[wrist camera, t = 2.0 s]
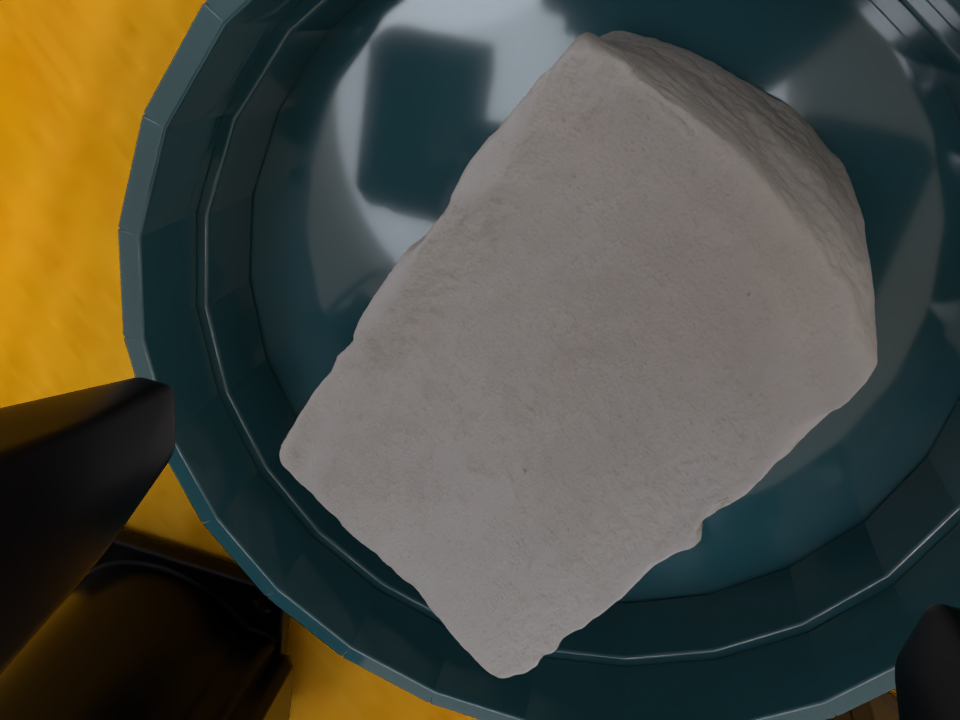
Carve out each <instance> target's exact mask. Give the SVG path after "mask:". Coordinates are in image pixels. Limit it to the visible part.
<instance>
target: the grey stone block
mask: <svg viewBox="0 0 960 720" xmlns="http://www.w3.org/2000/svg"><path fill="white" fill-rule="evenodd" d="M353 337H354V340H353V342H352V343H351V344H350V345H349V346H348V347H347V348H346V349H345V350H344V351H342V352H341V353H340V354H339V355H338V356H337V359H336V362H335V364H334V366H333V369H332V371H331V372H330V374H328V376H327V377H326V378H325V379H324V380H323V381H322V382H321V384H320V385H319V386H318V388H317V389H316V390H315V391H314V393H313V394H312V395H311V397H310V399H309V401H308V402H307V404H306V406H305V407H304V409H303V410H302V411H301V413H300V414H299V416H298V418H297V420H296V422H295V423H294V425H293V427H292V428H291V430H290V431H289V433H288V434H287V437H286V439H285V440H284V441H283V443H282V445H281V449H280V453H279V456H280V461H281V463H282V465H283V466H284V467H285V468H286V469H287V470H288V471H289V472H290V473H291V474H292V475H293V476H294V478H295V479H296V480H297V481H298V482H299V483H300V484H301V485H303V486H304V487H305V488H306V489H307V490H309V491H310V492H311V493H312V494H313V495H314V496H315V498H316V499H317V500H318V501H319V502H320V503H321V504H322V505H323V506H324V507H325V508H326V509H327V510H328V511H329V512H330V513H332V514H333V515H334V516H335V517H337V519H338V520H339V521H340V522H341V524H342V526H343V527H344V528H345V529H346V530H347V531H348V532H349V533H350V534H351V535H353V537H355V538H356V539H357V540H359V541H360V542H361V543H362V544H364V545H365V546H366V547H368V548H369V549H370V550H372V551H373V552H375V553H376V554H377V555H378V556H379V557H380V558H381V559H382V561H383V562H385V563H386V564H387V565H388V566H390V567H391V568H392V569H393V570H394V571H395V572H396V573H397V574H398V575H399V576H400V577H401V578H402V579H403V580H405V581H406V582H408V583H410V584H411V585H413V586H414V587H415V588H416V589H417V590H418V592H419V593H420V594H421V596H422V597H423V599H424V600H425V601H426V603H427V605H428V606H429V608H430V609H431V610H432V611H433V613H434V614H435V615H436V616H437V617H438V618H440V620H441V621H442V622H443V623H444V625H445V626H446V628H447V629H448V630H449V632H450V633H451V634H452V635H453V636H454V638H455V639H456V640H457V641H458V642H459V643H460V645H461V646H462V647H463V648H464V649H465V650H467V651H468V652H469V653H470V654H471V655H472V657H473V658H474V659H475V660H476V661H477V662H478V663H479V664H480V665H481V666H482V667H483V668H484V669H485V670H486V671H487V672H489V673H490V674H492V675H494V676H496V677H498V678H508V677H511V676H513V675H518V674H524V673H526V672H528V671H529V670H531V669H532V668H534V667H536V666H537V665H538V662H539V660H540V659H541V658H542V657H543V656H544V655H546V654H550V653H553V652H554V651H555V650H556V649H557V648H558V646H559V644H560V642H561V641H562V639H563V638H564V637H566V636H567V635H569V634H570V633H572V632H574V631H576V630H579V629H582V628H584V627H585V626H586V625H587V624H588V623H589V622H590V621H591V620H593V619H594V618H596V617H598V616H600V615H601V614H602V613H604V612H605V611H606V610H607V609H608V608H609V607H611V606H612V605H613V604H614V603H615V602H616V601H618V600H620V599H621V598H622V597H623V596H625V595H626V593H627V592H628V591H629V590H630V589H631V588H632V587H633V586H634V585H635V584H636V583H637V582H638V581H639V580H640V579H641V578H642V577H643V576H644V575H645V574H646V573H647V572H648V571H649V570H650V569H651V568H652V567H653V566H655V565H656V564H658V563H659V562H661V561H663V560H665V559H667V558H668V557H670V556H672V555H673V554H675V553H678V552H680V551H684V550H688V549H691V548H693V547H694V546H695V545H696V544H697V543H698V542H699V541H700V540H701V536H702V526H703V523H702V521H703V520H704V519H705V518H707V517H709V516H711V515H712V514H713V513H715V512H716V511H717V510H719V509H721V508H723V507H725V506H728V505H730V504H731V503H733V502H735V501H736V500H738V499H740V498H741V497H742V496H744V495H746V494H747V493H748V492H749V491H750V490H751V489H752V488H753V487H754V486H755V485H756V484H757V483H758V482H759V481H760V480H761V479H762V478H763V477H764V476H765V475H766V474H767V473H768V471H769V470H770V469H771V468H772V467H773V465H774V464H775V463H776V462H777V461H779V460H781V459H782V458H783V457H785V456H786V455H787V454H788V453H789V452H790V451H791V450H792V449H793V448H794V447H795V446H796V444H797V443H798V442H799V441H800V440H801V439H803V438H804V437H805V435H806V434H807V433H808V432H809V431H810V430H811V429H812V428H814V427H815V426H816V425H817V424H818V423H819V422H820V421H821V420H822V419H823V418H825V417H826V416H827V415H828V414H829V413H830V412H832V411H834V410H836V409H839V408H841V407H842V406H843V405H844V404H846V403H847V402H848V401H849V400H850V399H851V398H852V397H853V396H854V395H855V394H856V393H857V391H858V390H859V389H860V388H861V387H862V386H863V385H864V384H865V383H866V382H867V381H868V378H869V377H870V376H871V374H872V372H873V371H874V369H875V367H876V365H877V361H878V359H877V336H876V325H875V296H874V288H873V282H872V272H871V265H870V258H869V254H868V249H867V243H866V235H865V222H864V218H863V215H862V212H861V209H860V206H859V204H858V201H857V198H856V195H855V192H854V188H853V186H852V183H851V181H850V177H849V176H848V174H847V172H846V168H845V167H844V165H843V163H842V162H841V160H840V159H839V158H838V157H837V156H836V155H835V154H833V153H832V152H831V151H830V150H829V149H828V148H827V147H826V145H825V144H824V142H823V141H822V140H821V139H820V137H819V136H818V135H817V134H816V132H815V131H814V129H813V128H812V127H811V126H810V125H809V124H808V123H807V122H806V121H805V120H804V119H803V118H802V117H801V116H800V114H798V113H797V112H796V111H795V110H794V109H792V108H791V107H789V106H788V105H787V104H785V103H783V102H781V101H779V100H777V99H775V98H773V97H771V96H769V95H767V94H766V93H764V92H763V91H761V90H760V89H758V88H756V87H755V86H753V85H751V84H750V83H748V82H746V81H744V80H742V79H739V78H738V77H736V76H735V75H733V74H732V73H730V72H728V71H726V70H724V69H723V68H722V67H720V66H718V65H717V64H715V63H714V62H712V61H709V60H707V59H704V58H703V57H701V56H699V55H697V54H694V53H693V52H691V51H688V50H686V49H683V48H680V47H677V46H674V45H672V44H670V43H665V42H661V41H659V40H658V39H656V38H650V37H643V36H641V35H637V34H633V33H631V32H626V31H611V32H609V33H607V34H604V35H602V36H600V37H598V36H597V35H596V34H594V33H590V32H585V33H584V34H582V35H580V36H578V37H577V38H575V39H574V41H573V44H572V45H571V46H570V47H569V49H568V50H567V51H565V52H564V53H563V55H562V56H561V58H559V59H558V60H557V62H556V63H555V65H554V66H553V67H552V68H551V69H549V70H548V71H547V72H545V73H544V74H543V75H542V76H541V77H540V78H539V79H538V80H537V81H536V82H535V84H534V86H533V87H532V88H531V89H530V91H529V92H528V94H527V95H526V96H525V98H524V99H523V100H521V101H520V102H519V103H518V105H517V106H516V107H515V109H514V110H513V111H512V112H511V114H510V115H509V116H508V117H507V118H506V119H505V121H504V122H503V123H502V124H501V125H500V127H499V129H498V130H497V131H496V132H495V133H493V134H492V135H491V136H490V137H489V138H488V139H487V140H486V141H485V143H484V144H483V145H482V146H481V148H480V149H479V150H478V152H477V153H476V154H475V155H474V157H473V158H472V159H471V160H470V162H469V164H468V165H467V167H466V168H465V170H464V172H463V173H462V175H461V177H460V179H459V182H458V184H457V185H456V187H455V190H454V191H453V193H452V195H451V199H450V202H449V205H448V207H447V208H446V209H445V212H444V213H443V214H442V215H441V216H440V218H439V219H438V220H437V221H435V222H434V223H433V225H432V227H431V229H430V231H429V232H428V234H427V235H425V236H424V237H422V238H421V239H420V240H419V241H417V242H416V243H414V244H413V245H412V246H411V247H410V248H408V249H407V250H406V252H405V253H404V254H403V256H402V257H401V258H400V259H399V260H398V262H397V263H396V265H395V266H394V267H393V269H392V271H391V272H390V273H389V274H388V276H387V278H386V279H385V281H384V282H383V284H382V285H381V286H380V288H379V289H378V291H377V292H376V294H375V295H374V296H373V298H372V300H371V302H370V304H369V305H368V307H367V308H366V310H365V311H364V313H363V314H362V316H361V318H360V320H359V322H358V325H357V327H356V329H355V332H354V336H353Z"/></svg>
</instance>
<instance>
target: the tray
mask: <svg viewBox="0 0 960 720" xmlns="http://www.w3.org/2000/svg"><path fill="white" fill-rule="evenodd" d="M826 720H899V713H898V704H897V698H895V697H894V696H892V695H891V694H889V693H888V692H886V693H884V694H882V695H880V696H878V697H876V698H874V699H872V700H870V701H868V702H866V703H864V704H862V705H860V706H858V707H856V708H854V709H852V710H850V711H848V712H845V713H843V714H841V715H839V716H837V715H836V716H835V717H834V718H830V719H826Z"/></svg>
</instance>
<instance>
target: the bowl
mask: <svg viewBox="0 0 960 720" xmlns="http://www.w3.org/2000/svg"><path fill="white" fill-rule="evenodd" d="M611 31H626V32H631V33H633V34H637V35H641V36H643V37H650V38H656V39H658V40H659V41H661V42H665V43H670V44H672V45H674V46H677V47H680V48H683V49H686V50H688V51H691V52H693V53H694V54H697V55H699V56H701V57H703V58H704V59H707V60H709V61H712V62H714V63H715V64H717V65H718V66H720V67H722V68H723V69H724V70H726V71H728V72H730V73H732V74H733V75H735V76H736V77H738V78H739V79H742V80H744V81H746V82H748V83H750V84H751V85H753V86H755V87H756V88H758V89H760V90H761V91H763V92H764V93H766V94H767V95H769V96H771V97H773V98H775V99H777V100H779V101H781V102H783V103H785V104H787V105H788V106H789V107H791V108H792V109H794V110H795V111H796V112H797V113H798V114H800V116H801V117H802V118H803V119H804V120H805V121H806V122H807V123H808V124H809V125H810V126H811V127H812V128H813V129H814V131H815V132H816V134H817V135H818V136H819V137H820V139H821V140H822V141H823V142H824V144H825V145H826V147H827V148H828V149H829V150H830V151H831V152H832V153H833V154H835V155H836V156H837V157H838V158H839V159H840V160H841V162H842V163H843V165H844V167H845V168H846V172H847V174H848V176H849V177H850V181H851V183H852V186H853V188H854V192H855V195H856V198H857V201H858V204H859V206H860V209H861V212H862V215H863V218H864V222H865V235H866V243H867V249H868V254H869V258H870V265H871V272H872V282H873V288H874V296H875V325H876V336H877V359H878V361H877V365H876V367H875V369H874V371H873V372H872V374H871V376H870V377H869V378H868V381H867V382H866V383H865V384H864V385H863V386H862V387H861V388H860V389H859V390H858V391H857V393H856V394H855V395H854V396H853V397H852V398H851V399H850V400H849V401H848V402H847V403H846V404H844V405H843V406H842V407H841V408H839V409H836V410H834V411H832V412H830V413H829V414H828V415H827V416H826V417H825V418H823V419H822V420H821V421H820V422H819V423H818V424H817V425H816V426H815V427H814V428H812V429H811V430H810V431H809V432H808V433H807V434H806V435H805V437H804V438H803V439H801V440H800V441H799V442H798V443H797V444H796V446H795V447H794V448H793V449H792V450H791V451H790V452H789V453H788V454H787V455H786V456H785V457H783V458H782V459H781V460H779V461H777V462H776V463H775V464H774V465H773V467H772V468H771V469H770V470H769V471H768V473H767V474H766V475H765V476H764V477H763V478H762V479H761V480H760V481H759V482H758V483H757V484H756V485H755V486H754V487H753V488H752V489H751V490H750V491H749V492H748V493H747V494H746V495H744V496H742V497H741V498H740V499H738V500H736V501H735V502H733V503H731V504H730V505H728V506H725V507H723V508H721V509H719V510H717V511H716V512H715V513H713V514H712V515H711V516H709V517H707V518H705V519H704V520H703V521H702V523H703V526H702V536H701V540H700V541H699V542H698V543H697V544H696V545H695V546H694V547H693V548H691V549H688V550H684V551H680V552H678V553H675V554H673V555H672V556H670V557H668V558H667V559H665V560H663V561H661V562H659V563H658V564H656V565H655V566H653V567H652V568H651V569H650V570H649V571H648V572H647V573H646V574H645V575H644V576H643V577H642V578H641V579H640V580H639V581H638V582H637V583H636V584H635V585H634V586H633V587H632V588H631V589H630V590H629V591H628V592H627V593H626V595H625V596H623V597H622V598H621V599H620V600H618V601H616V602H615V603H614V604H613V605H612V606H611V607H609V608H608V609H607V610H606V611H605V612H604V613H602V614H601V615H600V616H598V617H596V618H594V619H593V620H591V621H590V622H589V623H588V624H587V625H586V626H585V627H584V628H582V629H579V630H576V631H574V632H572V633H570V634H569V635H567V636H566V637H564V638H563V639H562V641H561V642H560V644H559V646H558V648H557V649H556V650H555V651H554V652H553V653H550V654H546V655H544V656H543V657H542V658H541V659H540V660H539V662H538V665H537V666H536V667H534V668H532V669H531V670H529V671H528V672H526V673H524V674H518V675H513V676H511V677H508V678H498V677H496V676H494V675H492V674H490V673H489V672H487V671H486V670H485V669H484V668H483V667H482V666H481V665H480V664H479V663H478V662H477V661H476V660H475V659H474V658H473V657H472V655H471V654H470V653H469V652H468V651H467V650H465V649H464V648H463V647H462V646H461V645H460V643H459V642H458V641H457V640H456V639H455V638H454V636H453V635H452V634H451V633H450V632H449V630H448V629H447V628H446V626H445V625H444V623H443V622H442V621H441V620H440V618H438V617H437V616H436V615H435V614H434V613H433V611H432V610H431V609H430V608H429V606H428V605H427V603H426V601H425V600H424V599H423V597H422V596H421V594H420V593H419V592H418V590H417V589H416V588H415V587H414V586H413V585H411V584H410V583H408V582H406V581H405V580H403V579H402V578H401V577H400V576H399V575H398V574H397V573H396V572H395V571H394V570H393V569H392V568H391V567H390V566H388V565H387V564H386V563H385V562H383V561H382V559H381V558H380V557H379V556H378V555H377V554H376V553H375V552H373V551H372V550H370V549H369V548H368V547H366V546H365V545H364V544H362V543H361V542H360V541H359V540H357V539H356V538H355V537H353V535H351V534H350V533H349V532H348V531H347V530H346V529H345V528H344V527H343V526H342V524H341V522H340V521H339V520H338V519H337V517H335V516H334V515H333V514H332V513H330V512H329V511H328V510H327V509H326V508H325V507H324V506H323V505H322V504H321V503H320V502H319V501H318V500H317V499H316V498H315V496H314V495H313V494H312V493H311V492H310V491H309V490H307V489H306V488H305V487H304V486H303V485H301V484H300V483H299V482H298V481H297V480H296V479H295V478H294V476H293V475H292V474H291V473H290V472H289V471H288V470H287V469H286V468H285V467H284V466H283V465H282V463H281V461H280V456H279V453H280V449H281V445H282V443H283V441H284V440H285V439H286V437H287V434H288V433H289V431H290V430H291V428H292V427H293V425H294V423H295V422H296V420H297V418H298V416H299V414H300V413H301V411H302V410H303V409H304V407H305V406H306V404H307V402H308V401H309V399H310V397H311V395H312V394H313V393H314V391H315V390H316V389H317V388H318V386H319V385H320V384H321V382H322V381H323V380H324V379H325V378H326V377H327V376H328V374H330V372H331V371H332V369H333V366H334V364H335V362H336V359H337V356H338V355H339V354H340V353H341V352H342V351H344V350H345V349H346V348H347V347H348V346H349V345H350V344H351V343H352V342H353V340H354V337H353V336H354V332H355V329H356V327H357V325H358V322H359V320H360V318H361V316H362V314H363V313H364V311H365V310H366V308H367V307H368V305H369V304H370V302H371V300H372V298H373V296H374V295H375V294H376V292H377V291H378V289H379V288H380V286H381V285H382V284H383V282H384V281H385V279H386V278H387V276H388V274H389V273H390V272H391V271H392V269H393V267H394V266H395V265H396V263H397V262H398V260H399V259H400V258H401V257H402V256H403V254H404V253H405V252H406V250H407V249H408V248H410V247H411V246H412V245H413V244H414V243H416V242H417V241H419V240H420V239H421V238H422V237H424V236H425V235H427V234H428V232H429V231H430V229H431V227H432V225H433V223H434V222H435V221H437V220H438V219H439V218H440V216H441V215H442V214H443V213H444V212H445V209H446V208H447V207H448V205H449V202H450V199H451V195H452V193H453V191H454V190H455V187H456V185H457V184H458V182H459V179H460V177H461V175H462V173H463V172H464V170H465V168H466V167H467V165H468V164H469V162H470V160H471V159H472V158H473V157H474V155H475V154H476V153H477V152H478V150H479V149H480V148H481V146H482V145H483V144H484V143H485V141H486V140H487V139H488V138H489V137H490V136H491V135H492V134H493V133H495V132H496V131H497V130H498V129H499V127H500V125H501V124H502V123H503V122H504V121H505V119H506V118H507V117H508V116H509V115H510V114H511V112H512V111H513V110H514V109H515V107H516V106H517V105H518V103H519V102H520V101H521V100H523V99H524V98H525V96H526V95H527V94H528V92H529V91H530V89H531V88H532V87H533V86H534V84H535V82H536V81H537V80H538V79H539V78H540V77H541V76H542V75H543V74H544V73H545V72H547V71H548V70H549V69H551V68H552V67H553V66H554V65H555V63H556V62H557V60H558V59H559V58H561V56H562V55H563V53H564V52H565V51H567V50H568V49H569V47H570V46H571V45H572V44H573V41H574V39H575V38H577V37H578V36H580V35H582V34H584V33H585V32H590V33H594V34H596V35H597V36H598V37H600V36H602V35H604V34H607V33H609V32H611ZM144 113H145V114H144V115H143V116H142V120H141V125H140V130H139V134H138V139H137V143H136V148H135V152H134V157H133V162H132V166H131V171H130V175H129V180H128V184H127V189H126V194H125V198H124V203H123V207H122V212H121V216H120V221H119V230H118V239H119V259H120V279H121V299H122V320H123V335H124V336H125V337H124V341H125V344H126V347H127V351H128V354H129V357H130V361H131V364H132V367H133V371H134V374H135V377H136V378H137V377H143V378H147V379H150V380H154V381H157V382H161V383H164V384H168V385H169V386H170V387H171V388H172V389H173V391H174V393H175V416H176V443H175V448H174V451H173V454H172V456H171V458H170V460H169V462H168V463H169V465H170V467H171V469H172V470H173V472H174V474H175V476H176V477H177V479H178V481H179V483H180V485H181V486H182V488H183V490H184V492H185V494H186V495H187V497H188V499H189V501H190V502H191V504H192V506H193V508H194V510H195V511H196V513H197V515H198V517H199V518H200V520H201V521H202V522H203V524H204V526H205V527H206V528H207V529H208V530H209V532H210V533H211V534H212V535H213V536H214V537H215V539H216V540H217V541H218V542H219V543H220V544H221V545H222V547H223V548H224V549H225V550H226V551H227V552H228V554H229V555H230V556H231V557H232V558H233V559H234V560H235V562H236V563H237V564H238V565H239V566H240V567H241V569H242V570H243V571H244V572H245V573H246V574H247V575H248V577H249V578H250V579H251V580H252V581H253V582H254V584H255V585H256V586H257V587H258V588H259V589H260V590H261V592H262V593H263V594H264V595H265V596H267V598H268V599H269V600H271V601H272V602H273V603H274V604H276V605H277V606H278V607H280V608H281V609H282V610H283V611H285V612H286V613H287V614H288V615H290V616H291V617H292V618H293V619H295V620H296V621H297V622H299V623H300V624H301V625H302V626H304V627H305V628H306V629H307V630H309V631H310V632H311V633H312V634H314V635H315V636H316V637H318V638H319V639H320V640H321V641H323V642H324V643H325V644H326V645H328V646H329V647H330V648H331V649H333V650H334V651H335V652H337V653H338V654H339V655H340V656H344V658H345V659H347V660H349V661H351V662H352V663H354V664H356V665H358V666H360V667H362V668H364V669H366V670H367V671H369V672H371V673H373V674H375V675H377V676H379V677H381V678H383V679H384V680H386V681H388V682H390V683H392V684H394V685H396V686H398V687H399V688H401V689H403V690H405V691H407V692H409V693H411V694H413V695H414V696H416V697H418V698H420V699H422V700H424V701H426V702H429V701H430V703H431V704H433V705H436V706H439V707H442V708H445V709H448V710H451V711H455V712H458V713H461V714H464V715H467V716H470V717H473V718H476V719H479V720H826V719H830V718H834V717H835V716H836V715H837V716H839V715H841V714H843V713H845V712H848V711H850V710H852V709H854V708H856V707H858V706H860V705H862V704H864V703H866V702H868V701H870V700H872V699H874V698H876V697H878V696H880V695H882V694H884V693H886V692H889V691H891V690H893V689H895V688H896V685H895V664H896V660H897V657H898V654H899V652H900V650H901V649H902V647H903V645H904V644H905V642H906V640H907V639H908V637H909V636H910V634H911V632H912V631H913V629H914V627H915V626H916V624H917V623H918V621H919V619H920V618H921V616H922V614H923V613H924V611H925V610H926V609H927V608H928V607H929V606H931V605H932V604H936V603H942V604H945V605H949V606H952V607H956V608H960V0H206V2H205V3H203V5H202V7H201V8H200V10H199V12H198V14H197V16H196V18H195V19H194V21H193V23H192V25H191V27H190V29H189V30H188V32H187V34H186V36H185V38H184V40H183V41H182V43H181V45H180V47H179V49H178V50H177V52H176V54H175V56H174V58H173V60H172V61H171V63H170V65H169V67H168V69H167V71H166V72H165V74H164V76H163V78H162V80H161V82H160V83H159V85H158V87H157V89H156V91H155V92H154V94H153V96H152V98H151V100H150V102H149V103H148V105H147V107H146V109H145V111H144Z"/></svg>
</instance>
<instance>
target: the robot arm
mask: <svg viewBox="0 0 960 720" xmlns="http://www.w3.org/2000/svg"><path fill="white" fill-rule="evenodd" d="M175 443H176V416H175V393H174V391H173V389H172V388H171V387H170V386H169V385H168V384H164V383H161V382H157V381H154V380H150V379H147V378H143V377H137V378H132V379H127V380H123V381H119V382H114V383H110V384H105V385H101V386H97V387H92V388H88V389H83V390H79V391H75V392H70V393H66V394H61V395H57V396H52V397H48V398H44V399H39V400H35V401H30V402H26V403H22V404H17V405H13V406H8V407H4V408H0V720H289V718H290V707H291V695H292V684H293V672H294V665H293V663H292V660H291V658H290V656H289V655H286V652H287V640H288V627H289V615H288V614H287V613H286V612H285V611H283V610H282V609H281V608H280V607H278V606H277V605H276V604H274V603H273V602H272V601H271V600H269V599H268V598H267V596H265V595H264V594H263V593H262V592H261V590H260V589H259V588H258V587H257V586H256V585H255V584H254V582H253V581H252V580H251V579H250V578H249V577H248V575H247V574H246V573H245V572H244V571H243V570H242V569H241V567H239V566H236V565H232V564H229V563H226V562H223V561H220V560H216V559H213V558H210V557H207V556H203V555H200V554H197V553H194V552H191V551H187V550H184V549H181V548H178V547H174V546H171V545H168V544H165V543H162V542H158V541H155V540H152V539H149V538H146V537H142V536H139V535H136V534H133V533H129V532H126V531H123V530H122V528H123V527H124V525H125V524H126V522H127V521H128V519H129V518H130V517H131V515H132V514H133V512H134V511H135V509H136V508H137V507H138V505H139V504H140V502H141V501H142V499H143V498H144V496H145V495H146V494H147V492H148V491H149V489H150V488H151V486H152V485H153V484H154V482H155V481H156V479H157V478H158V476H159V475H160V473H161V472H162V471H163V469H164V468H165V466H166V465H167V463H168V462H169V460H170V458H171V456H172V454H173V451H174V448H175ZM895 685H896V694H897V704H898V713H899V720H960V608H956V607H952V606H949V605H945V604H942V603H936V604H932V605H931V606H929V607H928V608H927V609H926V610H925V611H924V613H923V614H922V616H921V618H920V619H919V621H918V623H917V624H916V626H915V627H914V629H913V631H912V632H911V634H910V636H909V637H908V639H907V640H906V642H905V644H904V645H903V647H902V649H901V650H900V652H899V654H898V657H897V660H896V664H895Z"/></svg>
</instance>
